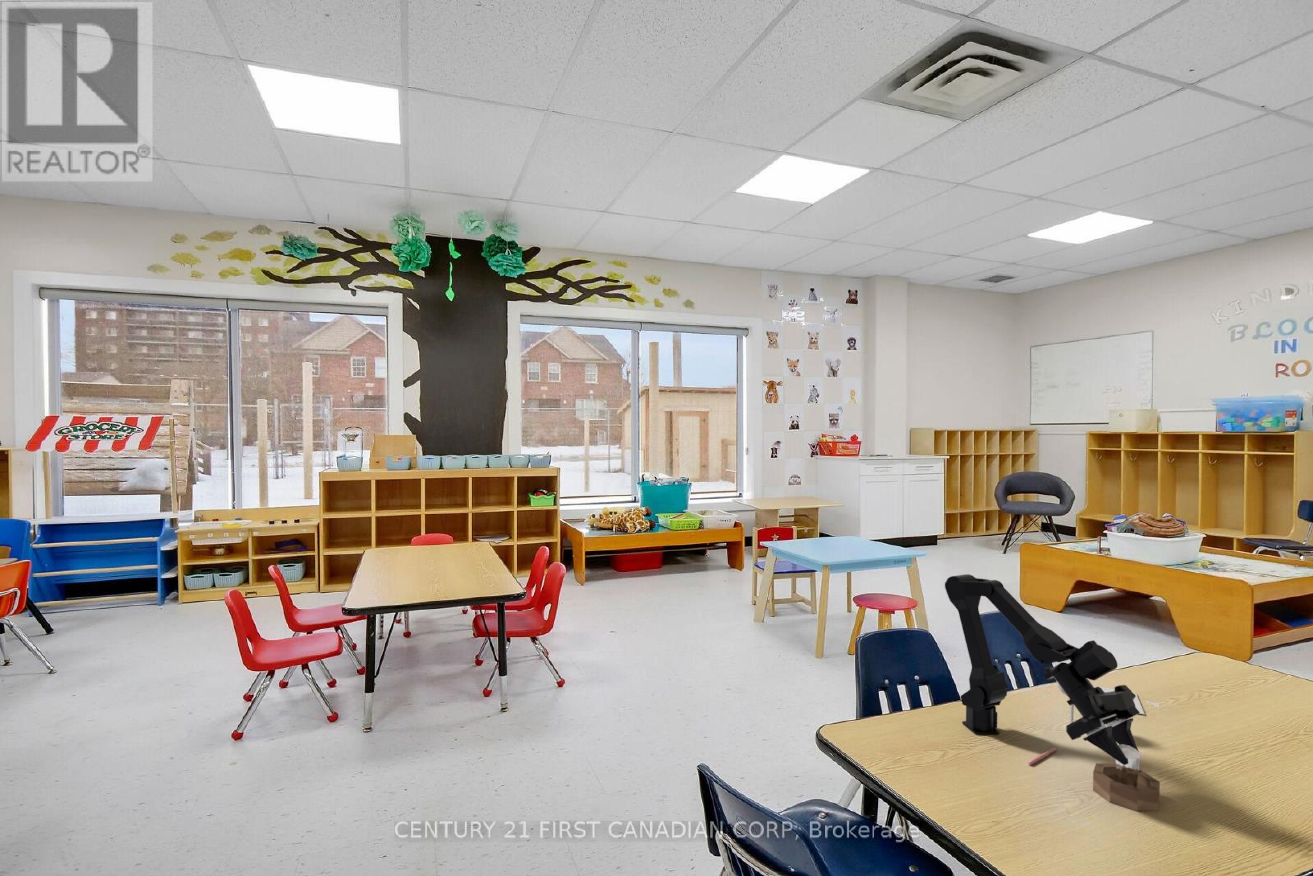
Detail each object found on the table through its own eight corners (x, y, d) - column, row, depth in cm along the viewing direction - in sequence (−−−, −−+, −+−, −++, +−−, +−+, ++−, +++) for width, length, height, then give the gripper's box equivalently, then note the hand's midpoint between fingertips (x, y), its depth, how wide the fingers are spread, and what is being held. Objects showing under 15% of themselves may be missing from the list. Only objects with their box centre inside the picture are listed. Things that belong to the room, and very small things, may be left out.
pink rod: (1030, 766, 146) (1031, 762, 146) (1027, 764, 146) (1027, 761, 146) (1056, 751, 153) (1056, 747, 153) (1053, 749, 154) (1053, 746, 154)
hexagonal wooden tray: (1122, 812, 128) (1122, 792, 128) (1081, 782, 139) (1082, 763, 139) (1173, 810, 129) (1173, 790, 129) (1128, 780, 140) (1128, 762, 140)
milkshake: (1105, 781, 137) (1105, 736, 137) (1134, 785, 136) (1134, 739, 136) (1114, 793, 133) (1115, 747, 133) (1144, 797, 132) (1145, 750, 131)
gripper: (1082, 680, 133) (1140, 757, 124) (1130, 666, 142) (1188, 737, 132) (1044, 703, 140) (1096, 777, 131) (1092, 688, 149) (1144, 757, 139)
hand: (1132, 761), depth 133 cm, fingers closed on milkshake, 4 cm apart
